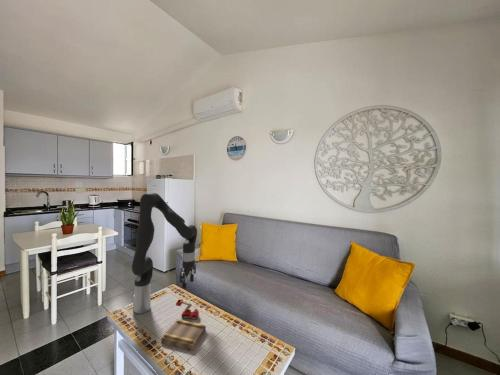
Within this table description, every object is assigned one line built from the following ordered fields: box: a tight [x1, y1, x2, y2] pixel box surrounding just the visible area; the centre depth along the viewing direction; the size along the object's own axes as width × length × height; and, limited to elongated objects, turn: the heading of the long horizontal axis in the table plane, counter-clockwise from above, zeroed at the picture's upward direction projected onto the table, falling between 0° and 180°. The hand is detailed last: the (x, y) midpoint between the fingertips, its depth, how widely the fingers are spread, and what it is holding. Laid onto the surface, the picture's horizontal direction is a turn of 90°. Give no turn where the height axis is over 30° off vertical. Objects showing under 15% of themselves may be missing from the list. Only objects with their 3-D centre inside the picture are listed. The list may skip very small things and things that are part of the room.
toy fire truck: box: [175, 298, 200, 320], centre depth 126 cm, size 3×14×10 cm, turn 84°
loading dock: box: [160, 319, 207, 352], centre depth 110 cm, size 18×14×4 cm
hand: (188, 284), depth 126 cm, fingers open, 8 cm apart
